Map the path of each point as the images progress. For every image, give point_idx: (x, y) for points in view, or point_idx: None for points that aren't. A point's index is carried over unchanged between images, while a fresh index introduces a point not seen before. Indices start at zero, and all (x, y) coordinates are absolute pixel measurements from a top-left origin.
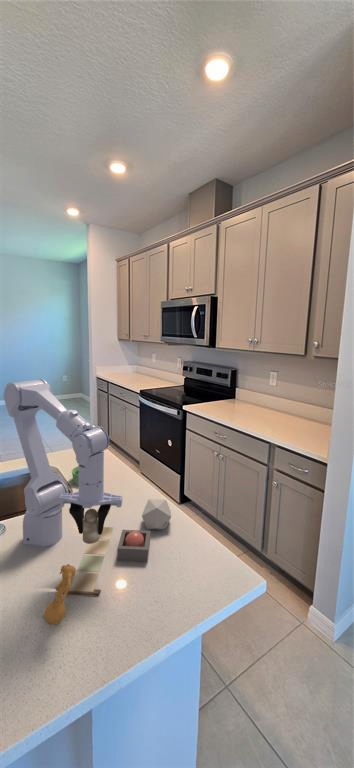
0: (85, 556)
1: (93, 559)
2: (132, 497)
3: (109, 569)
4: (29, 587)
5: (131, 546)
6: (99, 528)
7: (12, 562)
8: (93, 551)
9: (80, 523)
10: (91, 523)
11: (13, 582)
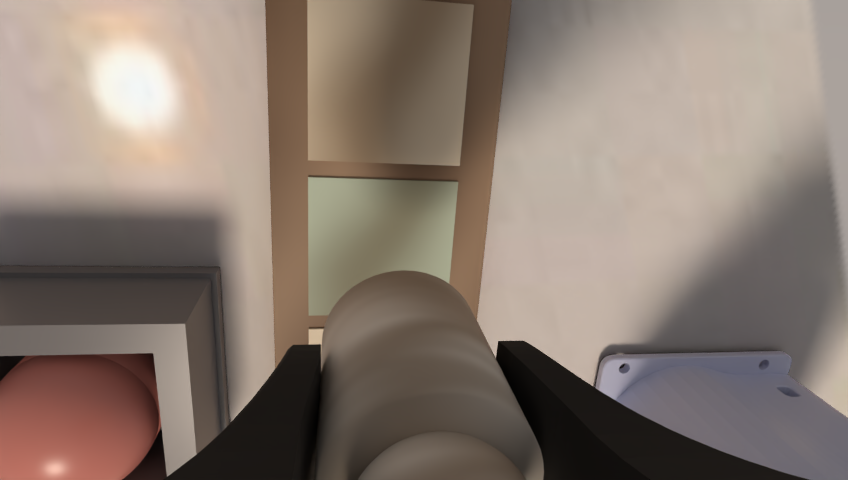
0: None
1: None
2: None
3: (253, 216)
4: (702, 62)
5: (68, 353)
6: (297, 377)
7: (814, 249)
8: None
9: (560, 405)
10: (411, 415)
11: (789, 102)
